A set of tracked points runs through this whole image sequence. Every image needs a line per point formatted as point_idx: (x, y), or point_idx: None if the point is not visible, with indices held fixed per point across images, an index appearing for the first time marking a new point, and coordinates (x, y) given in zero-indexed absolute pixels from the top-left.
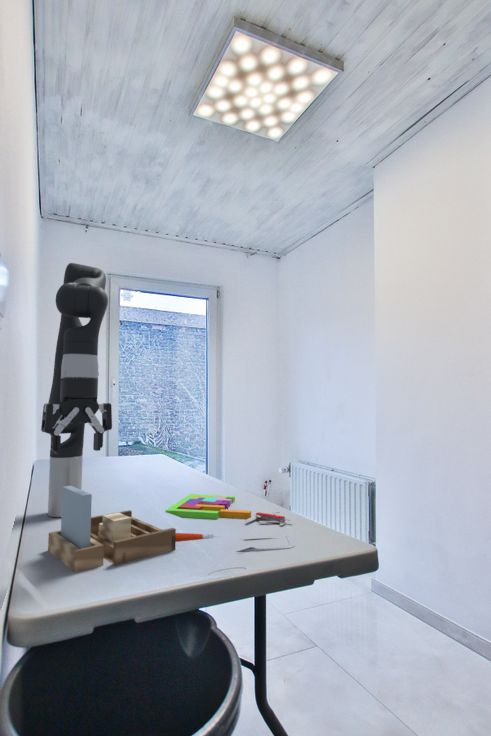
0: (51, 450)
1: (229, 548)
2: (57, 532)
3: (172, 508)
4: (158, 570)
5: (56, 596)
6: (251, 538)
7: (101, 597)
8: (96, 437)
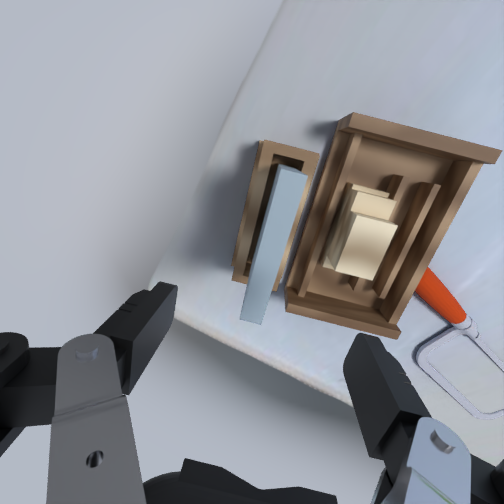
0: (142, 292)
1: (442, 358)
2: (277, 153)
3: None
4: (318, 329)
5: (195, 288)
6: (500, 366)
7: (225, 328)
8: (368, 417)
